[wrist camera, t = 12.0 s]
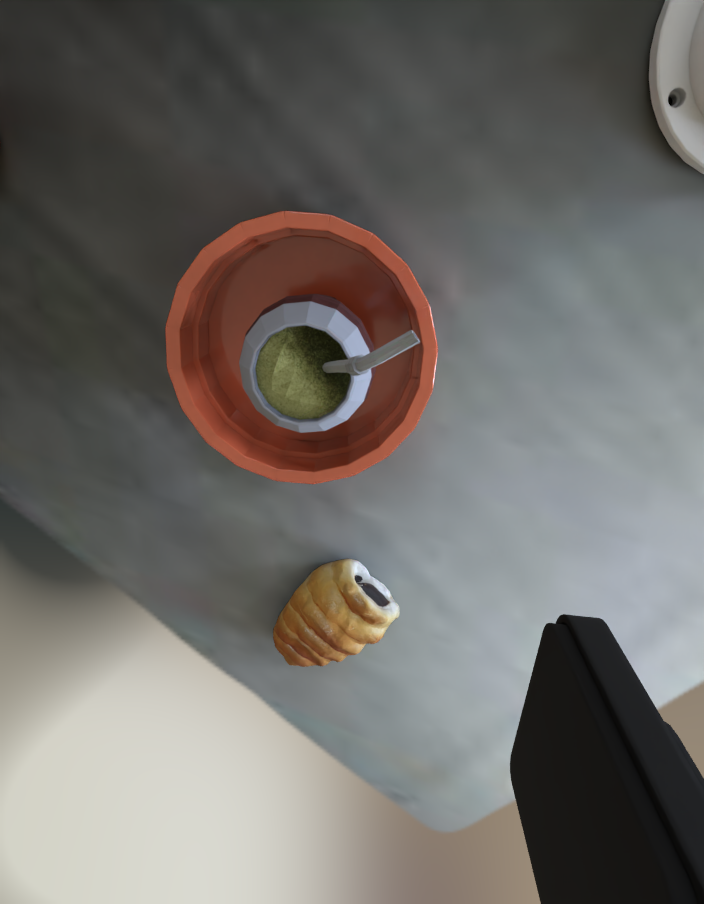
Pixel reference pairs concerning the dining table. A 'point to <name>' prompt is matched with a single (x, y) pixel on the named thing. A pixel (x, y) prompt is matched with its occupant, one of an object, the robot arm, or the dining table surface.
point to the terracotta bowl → (264, 283)
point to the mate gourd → (311, 362)
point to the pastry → (333, 615)
